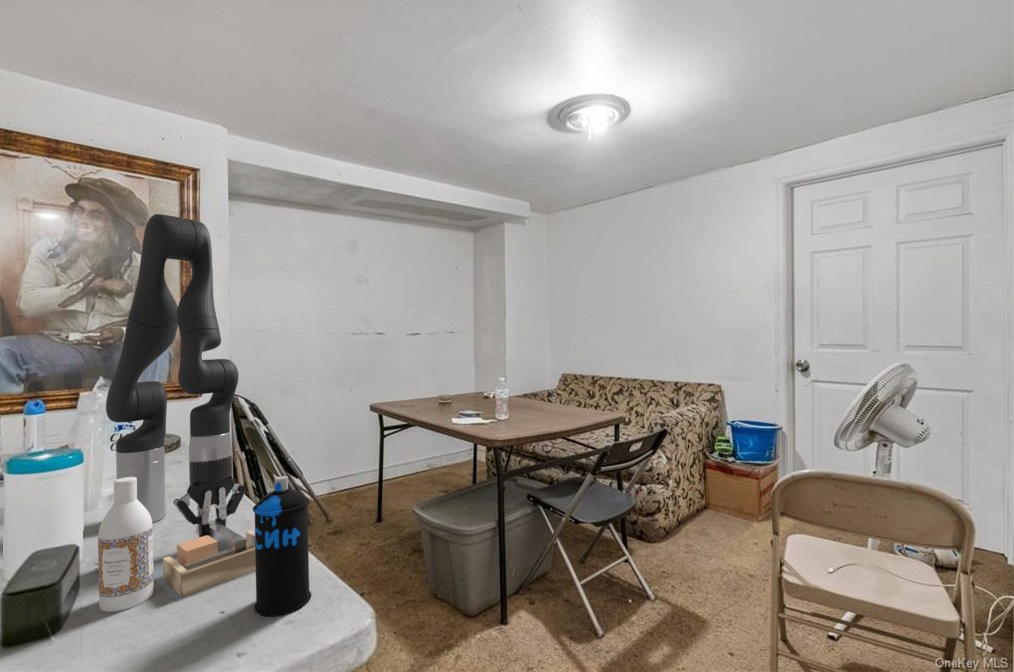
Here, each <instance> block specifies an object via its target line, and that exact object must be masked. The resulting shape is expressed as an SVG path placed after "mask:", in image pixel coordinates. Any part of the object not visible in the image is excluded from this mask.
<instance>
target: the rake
mask: <svg viewBox="0 0 1014 672" xmlns="http://www.w3.org/2000/svg"><path fill="white" fill-rule="evenodd" d="M208 523H209V524H210V527H209V536H210V537H211V538H213V539H215V540H216V541H218V553H215V554H212V555H209V556H206V557H203V558H200V559H197V560H194V561H191V562H188V563H185V564H183V567H184V568H185V569H186V570H190V569H193V568H196V567H199V566H202V565H205V564H208V563H211V562H214V561H217V560H220V559H222V558H225V557H228V556H231V555H234V554H237V553H240V552H243V551H246V537H244V536H243V535H241V534H239V533H237V532H236V531H234V530H231V528H228V527H227V526H226V527H225V526H223V525H221V524H219V523H217V522H215V519H212V520H209V521H208Z"/></svg>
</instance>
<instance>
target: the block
mask: <svg viewBox="0 0 1014 672" xmlns="http://www.w3.org/2000/svg"><path fill="white" fill-rule="evenodd" d="M215 553H218V541H216V540H215V539H213V538H211V537H210V536H208V535H206V536H203V537H200V538H199V537H197V538H194V539H191V540H187V541H184V542H180V543H177V544H176V555H177V562H178V563H179V564H180V565H181V566H183V564H185V563H188V562H191V561H194V560H197V559H200V558H203V557H206V556H209V555H212V554H215Z"/></svg>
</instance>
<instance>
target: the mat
mask: <svg viewBox="0 0 1014 672" xmlns="http://www.w3.org/2000/svg"><path fill="white" fill-rule="evenodd" d="M170 557H171V558H173V559H174V560H175V561H176V562H177V554H176V555H174V556H170ZM153 573H154V580H153V581H154V582H155V583H157V584H158V585H159V586H160V587H161V588H162V589H163V590H164V591H165V592H166V593H167V595H170V597H171V598H173V600H174V601H175V602H177V603H178V602H180V601H183V600H185V599H189V598H191V597H193V596H196V595H199V594H201V593H204V592H207V591H210V590H212V589H214V588H217V587H219V586H222V585H225V584H227V583H230V582H233V581H235V580H238V579H240V578H243V577H246V576H248V575H250V574H253V573H256V570H255V571H252V572H250V573H247V574H244V575H242V576H239V577H237V578H234V579H231V580H229V581H226V582H223V583H221V584H218V585H216V586H213V587H210V588H208V589H205V590H202V591H200V592H197V593H195V594H192V595H189V596H187V597H184V598H183V597H182V596H181V595H179V594H178V593H177V592H176V591H175V590H174V589H173V588H172V587H171V586H170V585H169V584H167V583H166V582H165V581H164V580H163V559H161V560H157V561H153Z"/></svg>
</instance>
